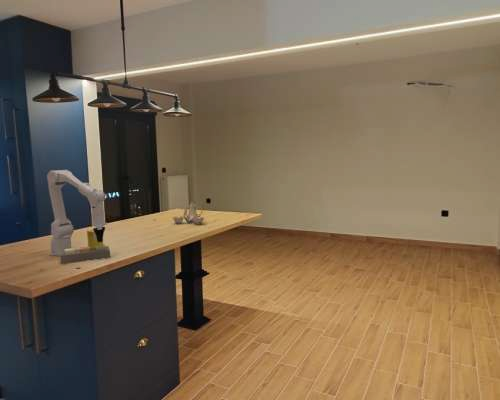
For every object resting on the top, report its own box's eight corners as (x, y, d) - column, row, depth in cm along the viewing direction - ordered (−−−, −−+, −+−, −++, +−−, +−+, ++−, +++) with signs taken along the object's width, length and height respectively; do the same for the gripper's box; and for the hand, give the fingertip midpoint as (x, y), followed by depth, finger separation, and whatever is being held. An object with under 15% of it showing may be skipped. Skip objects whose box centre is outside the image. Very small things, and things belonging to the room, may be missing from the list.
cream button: (65, 255, 187) (64, 249, 187) (75, 253, 189) (74, 248, 188) (64, 257, 183) (64, 250, 183) (75, 255, 185) (74, 249, 184)
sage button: (95, 251, 193) (95, 245, 192) (105, 250, 194) (104, 244, 194) (96, 253, 189) (95, 247, 188) (105, 252, 190) (105, 246, 190)
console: (61, 259, 189) (61, 250, 189) (108, 253, 198) (108, 245, 198) (61, 264, 180) (60, 255, 180) (110, 257, 189) (109, 249, 188)
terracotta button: (80, 253, 190) (80, 247, 190) (90, 252, 192) (89, 246, 191) (80, 255, 186) (80, 249, 186) (90, 254, 188) (90, 248, 187)
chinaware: (169, 227, 284) (166, 205, 281) (179, 221, 300) (177, 200, 296) (203, 228, 275) (201, 205, 272) (212, 222, 291) (210, 200, 288)
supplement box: (98, 248, 212) (97, 228, 211) (104, 249, 208) (102, 229, 207) (88, 250, 207) (86, 230, 206) (93, 251, 204) (92, 231, 202)
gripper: (107, 216, 185) (109, 243, 186) (105, 212, 198) (107, 238, 199) (91, 217, 182) (94, 245, 183) (91, 214, 195) (93, 240, 196)
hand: (100, 241), depth 191 cm, fingers closed
